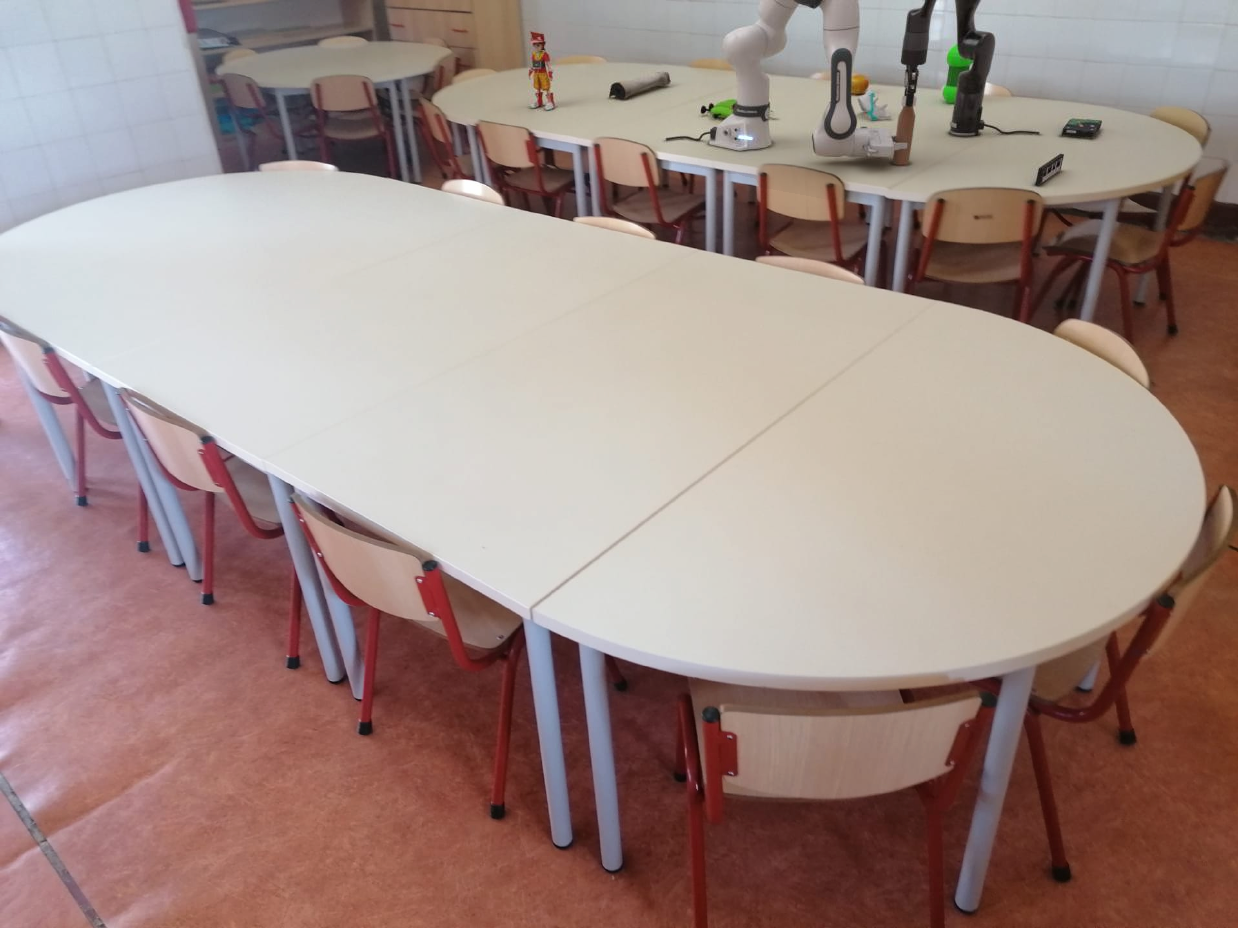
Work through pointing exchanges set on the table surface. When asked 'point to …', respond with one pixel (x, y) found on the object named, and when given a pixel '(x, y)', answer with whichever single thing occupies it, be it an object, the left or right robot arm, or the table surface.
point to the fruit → (859, 84)
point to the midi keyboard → (1049, 169)
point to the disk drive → (1081, 128)
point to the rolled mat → (638, 84)
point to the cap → (905, 101)
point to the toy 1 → (541, 71)
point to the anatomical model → (872, 106)
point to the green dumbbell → (954, 73)
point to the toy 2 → (721, 109)
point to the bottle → (904, 135)
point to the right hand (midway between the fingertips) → (908, 103)
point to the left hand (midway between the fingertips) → (906, 142)
